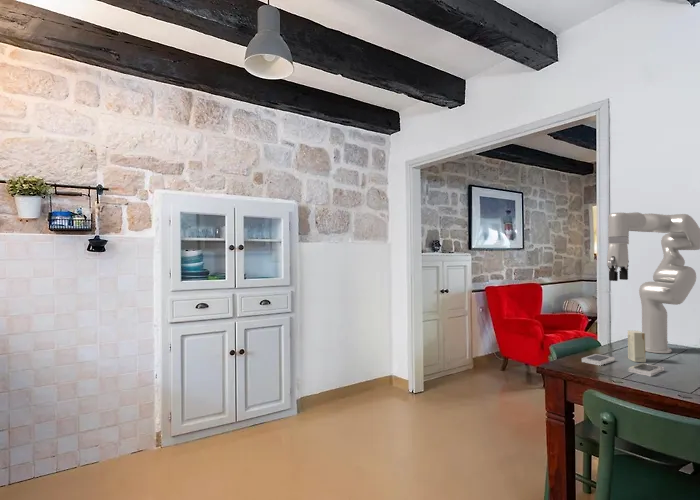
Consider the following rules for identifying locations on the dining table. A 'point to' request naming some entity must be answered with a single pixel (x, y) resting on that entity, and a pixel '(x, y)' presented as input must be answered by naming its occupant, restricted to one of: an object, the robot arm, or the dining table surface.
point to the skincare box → (636, 346)
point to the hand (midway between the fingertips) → (618, 280)
